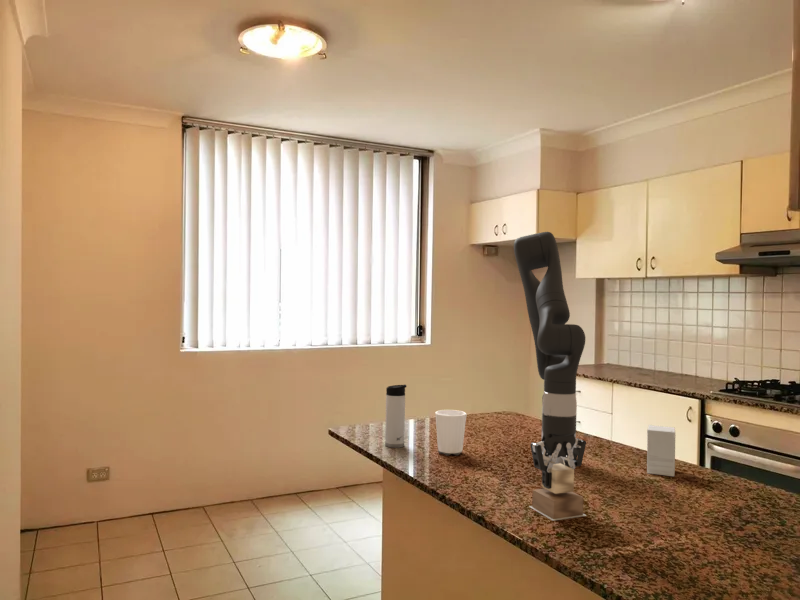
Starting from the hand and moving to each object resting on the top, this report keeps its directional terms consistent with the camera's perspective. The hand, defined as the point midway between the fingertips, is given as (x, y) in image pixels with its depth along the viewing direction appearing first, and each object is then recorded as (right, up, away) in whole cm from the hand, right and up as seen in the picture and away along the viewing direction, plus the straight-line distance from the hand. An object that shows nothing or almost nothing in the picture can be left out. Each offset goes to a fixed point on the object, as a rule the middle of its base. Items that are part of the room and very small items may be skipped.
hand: (557, 486), depth 138 cm
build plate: (+2, -7, +4) cm, 8 cm away
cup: (-20, -6, +52) cm, 56 cm away
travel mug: (-37, -5, +60) cm, 71 cm away
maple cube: (0, -1, 0) cm, 1 cm away
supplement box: (+39, -7, +36) cm, 54 cm away
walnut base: (0, -6, 0) cm, 6 cm away
